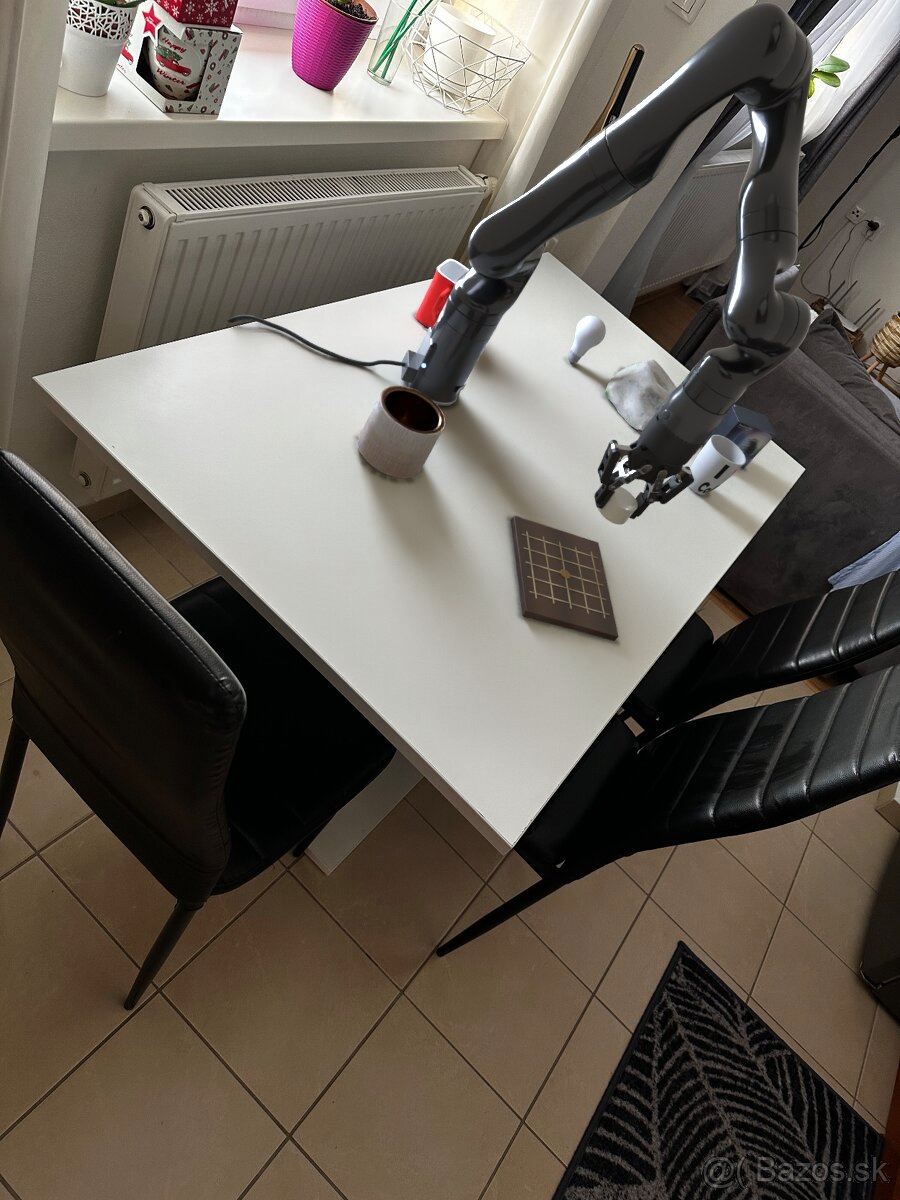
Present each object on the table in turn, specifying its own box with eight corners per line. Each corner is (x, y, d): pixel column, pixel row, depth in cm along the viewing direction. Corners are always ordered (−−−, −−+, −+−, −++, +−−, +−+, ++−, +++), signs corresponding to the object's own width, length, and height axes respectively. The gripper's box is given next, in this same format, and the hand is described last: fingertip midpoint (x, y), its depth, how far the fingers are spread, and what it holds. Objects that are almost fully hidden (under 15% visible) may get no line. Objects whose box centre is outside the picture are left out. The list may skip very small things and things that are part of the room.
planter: (380, 422, 138) (403, 376, 132) (432, 463, 138) (458, 419, 131) (343, 446, 130) (365, 398, 124) (397, 490, 130) (423, 444, 123)
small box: (706, 458, 181) (739, 421, 174) (697, 437, 185) (729, 401, 178) (744, 470, 185) (778, 434, 178) (735, 450, 189) (767, 414, 182)
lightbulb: (587, 367, 183) (615, 324, 175) (576, 374, 178) (604, 331, 171) (565, 349, 183) (592, 306, 176) (553, 356, 179) (581, 313, 171)
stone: (647, 345, 193) (697, 388, 192) (626, 371, 198) (676, 413, 196) (610, 362, 171) (667, 411, 169) (588, 391, 175) (643, 439, 174)
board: (522, 615, 124) (526, 610, 123) (510, 520, 137) (514, 514, 136) (614, 641, 130) (619, 636, 129) (594, 546, 143) (598, 541, 142)
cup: (694, 501, 167) (726, 464, 160) (672, 470, 171) (703, 434, 164) (719, 500, 172) (753, 464, 165) (698, 471, 175) (729, 435, 169)
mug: (427, 303, 169) (450, 256, 162) (462, 327, 170) (486, 281, 162) (403, 323, 161) (425, 275, 153) (439, 348, 161) (464, 301, 154)
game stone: (600, 519, 123) (611, 505, 121) (594, 495, 126) (605, 481, 124) (629, 528, 125) (640, 514, 123) (623, 505, 128) (634, 491, 126)
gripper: (719, 422, 119) (648, 505, 130) (633, 388, 114) (568, 478, 125) (734, 457, 114) (659, 540, 125) (644, 423, 109) (575, 513, 120)
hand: (614, 509), depth 125 cm, fingers closed on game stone, 5 cm apart
